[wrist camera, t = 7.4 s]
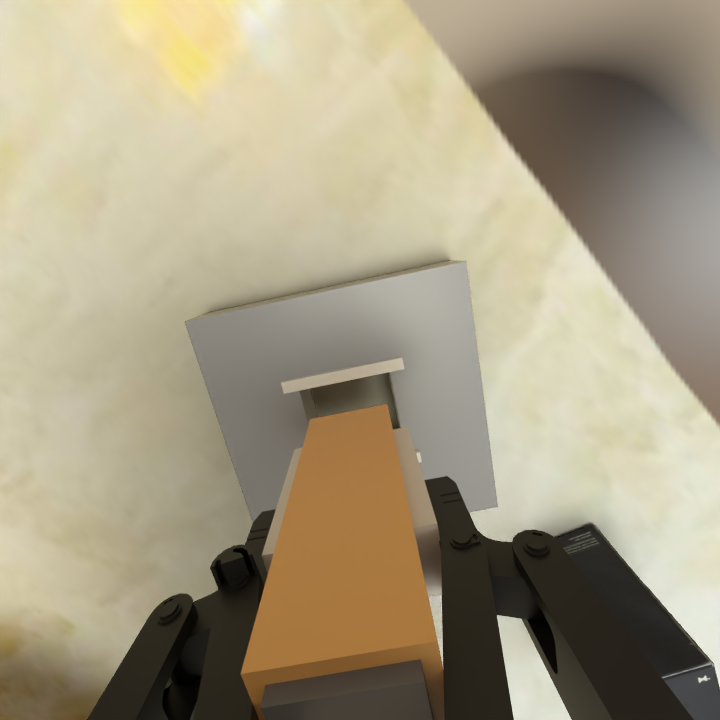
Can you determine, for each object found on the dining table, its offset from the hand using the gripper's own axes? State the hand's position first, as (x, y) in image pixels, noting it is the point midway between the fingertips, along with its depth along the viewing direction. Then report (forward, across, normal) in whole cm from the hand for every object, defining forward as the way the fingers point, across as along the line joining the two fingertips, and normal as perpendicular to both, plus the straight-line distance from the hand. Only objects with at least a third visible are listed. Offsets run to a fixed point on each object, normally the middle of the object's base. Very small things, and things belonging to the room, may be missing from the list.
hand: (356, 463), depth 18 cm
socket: (+9, 0, 0) cm, 9 cm away
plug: (+2, 0, 0) cm, 2 cm away
